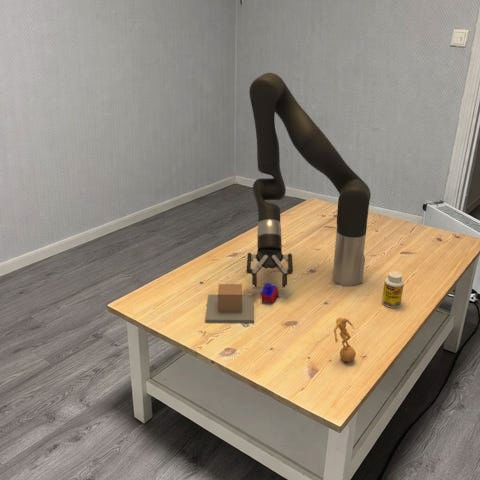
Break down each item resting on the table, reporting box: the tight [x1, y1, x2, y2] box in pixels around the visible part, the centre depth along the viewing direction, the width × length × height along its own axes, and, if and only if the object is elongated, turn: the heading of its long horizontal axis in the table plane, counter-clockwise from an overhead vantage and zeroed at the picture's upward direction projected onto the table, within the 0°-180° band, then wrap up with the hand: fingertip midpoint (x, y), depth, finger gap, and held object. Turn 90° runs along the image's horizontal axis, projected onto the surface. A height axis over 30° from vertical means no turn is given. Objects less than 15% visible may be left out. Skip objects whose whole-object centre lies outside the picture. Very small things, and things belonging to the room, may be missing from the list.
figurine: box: [333, 317, 357, 363], centre depth 135 cm, size 8×6×12 cm
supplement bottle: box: [381, 270, 405, 309], centre depth 160 cm, size 6×6×10 cm
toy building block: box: [260, 282, 280, 304], centre depth 162 cm, size 4×4×8 cm
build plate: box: [204, 283, 255, 324], centre depth 157 cm, size 14×14×7 cm
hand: (269, 286), depth 161 cm, fingers open, 8 cm apart
